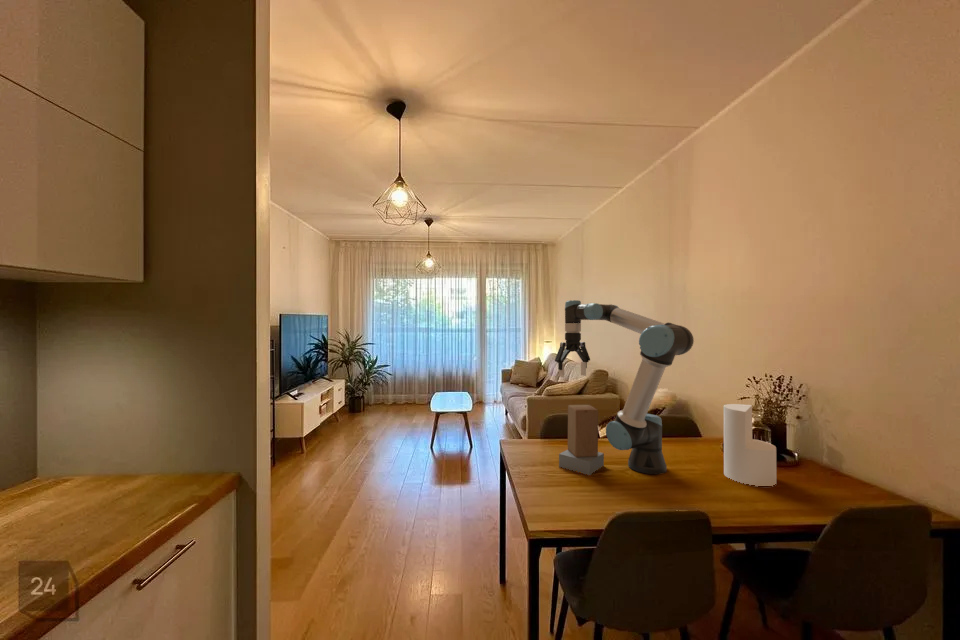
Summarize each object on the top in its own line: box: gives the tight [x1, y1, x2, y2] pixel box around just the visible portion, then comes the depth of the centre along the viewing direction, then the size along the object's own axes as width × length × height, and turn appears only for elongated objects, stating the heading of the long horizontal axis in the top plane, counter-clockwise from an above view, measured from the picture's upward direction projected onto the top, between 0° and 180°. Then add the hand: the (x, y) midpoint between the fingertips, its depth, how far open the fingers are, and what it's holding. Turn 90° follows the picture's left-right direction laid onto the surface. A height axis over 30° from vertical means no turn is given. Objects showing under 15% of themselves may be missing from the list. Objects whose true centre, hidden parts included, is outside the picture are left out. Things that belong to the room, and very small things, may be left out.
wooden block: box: [567, 404, 599, 457], centre depth 164 cm, size 10×10×20 cm
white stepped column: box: [723, 403, 777, 487], centre depth 152 cm, size 17×17×28 cm
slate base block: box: [558, 449, 605, 476], centre depth 163 cm, size 14×14×6 cm
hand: (572, 376), depth 182 cm, fingers open, 13 cm apart
